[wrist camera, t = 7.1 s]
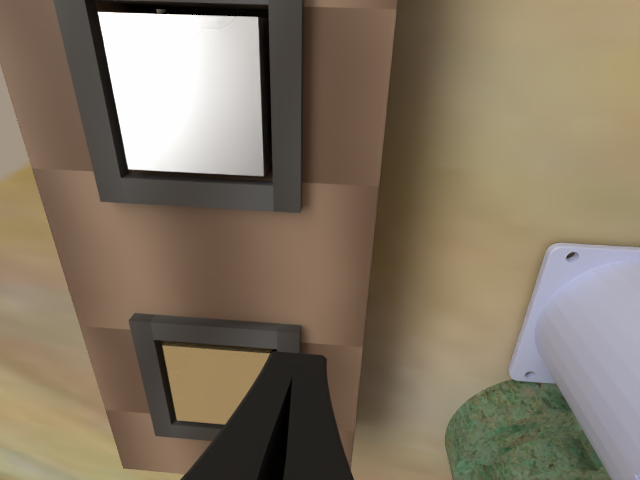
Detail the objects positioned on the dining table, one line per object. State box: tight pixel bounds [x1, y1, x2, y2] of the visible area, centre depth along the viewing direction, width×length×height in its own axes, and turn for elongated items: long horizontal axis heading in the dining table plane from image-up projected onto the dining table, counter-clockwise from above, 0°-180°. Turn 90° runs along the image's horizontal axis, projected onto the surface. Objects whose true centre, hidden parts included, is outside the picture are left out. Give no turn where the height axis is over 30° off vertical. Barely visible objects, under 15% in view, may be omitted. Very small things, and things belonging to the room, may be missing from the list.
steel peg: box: [98, 12, 272, 176], centre depth 14 cm, size 4×4×4 cm
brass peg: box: [162, 341, 277, 424], centre depth 19 cm, size 4×4×4 cm
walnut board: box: [0, 0, 398, 474], centre depth 17 cm, size 12×26×4 cm, turn 178°
